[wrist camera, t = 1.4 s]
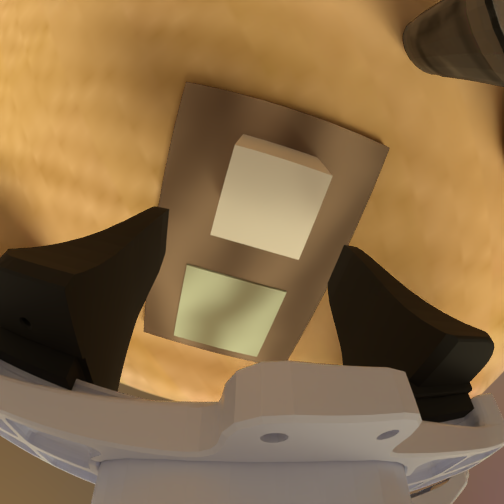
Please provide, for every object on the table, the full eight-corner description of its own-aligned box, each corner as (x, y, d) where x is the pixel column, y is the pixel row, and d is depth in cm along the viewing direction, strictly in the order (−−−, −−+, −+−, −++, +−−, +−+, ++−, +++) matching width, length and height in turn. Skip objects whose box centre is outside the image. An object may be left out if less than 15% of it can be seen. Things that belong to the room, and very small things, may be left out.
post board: (383, 145, 19) (412, 158, 15) (282, 359, 29) (283, 396, 25) (190, 82, 18) (168, 78, 13) (147, 323, 28) (131, 358, 24)
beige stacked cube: (317, 157, 19) (332, 175, 14) (292, 224, 21) (298, 260, 17) (243, 134, 18) (234, 144, 14) (223, 203, 20) (210, 234, 16)
